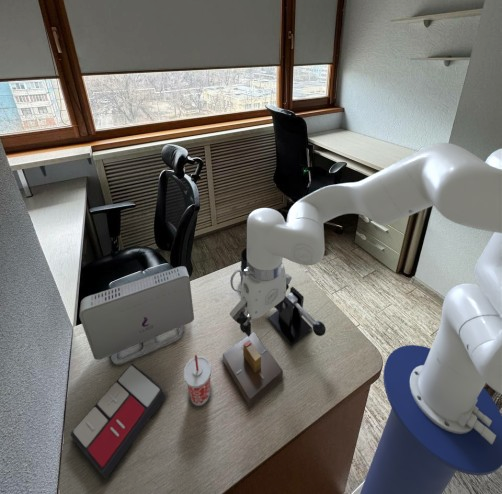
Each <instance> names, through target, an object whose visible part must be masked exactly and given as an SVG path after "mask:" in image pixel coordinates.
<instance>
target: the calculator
mask: <svg viewBox="0 0 502 494" xmlns="http://www.w3.org/2000/svg"><path fill="white" fill-rule="evenodd" d="M165 399H166V395H165V392H164V389H163V388H162V387H161V386H160V385H159V384H158V383H156V382H155V381H154V380H153V379H152V378H151V377H149V376H148V375H147V374H146V373H144V371H142V370H141V369H140V368H138V366H136V365H135V364H134V363H130V365H129V366H128V367H127V368H126V369H125V370H124V371H123V373H121V375H120V376H119V377H118V378H117V379H116V380H115V382H114V383H113V384H112V385H111V386H110V387H109V388H108V390H107V391H105V393H104V394H103V395H102V397H101V398H100V399H99V400H98V401H97V402H96V404H94V406H93V407H91V409H90V410H89V412H87V414H86V415H85V416H84V418H82V419H81V420H80V421H79V423H78V424H77V425H76V426H75V428H74V429H73V430H72V431H71V432H70V437H71V438H72V441H74V443H75V444H76V445H77V446H78V448H79V449H80V450H81V452H83V454H84V455H85V456H86V458H87V459H88V460H89V461H90V463H91V464H92V465H93V466H94V467H95V469H96V470H97V471H98V472H99V473H100V475H101V476H102V477H103V478H104V479H108V478H109V476H110V475H111V473H113V471H114V469H115V468H116V466H117V465H118V464H119V462H120V461H121V459H122V458H123V456H124V455H125V453H126V452H127V451H128V449H129V448H130V446H131V445H132V444H133V442H134V441H135V440H136V439H137V437H138V435H139V434H140V432H141V431H142V430H143V428H144V427H145V425H146V424H147V423H148V421H149V419H151V418H152V417H153V416H154V415H155V413H156V412H157V410H159V408H160V406H161V405H162V403H163V402H164V400H165Z"/></svg>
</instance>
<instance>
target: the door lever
mask: <svg viewBox="0 0 502 494" xmlns="http://www.w3.org/2000/svg"><path fill="white" fill-rule="evenodd" d="M286 297H287V298H288V299H289V300H290V301H291V302H292V303H293V308H294V307H295V308H296V309H297V310H298V311H299V312H300V313H301V314H302V318H303V319H304V320H305V321H306V322H307V323H308V324H309V325H310V326H312V331H313V333H314V334H315V335H316V336H318V337H322V336H324V335H325V334H326V325H325V324H324V322H322V321H320V320H317V321H316V320H315V318H313V317H312V316H311V314H309V313H308V312H307V311H306V310H305V309H304V307H303V308H302V307H301V306H300V305H299V304H298V299H297V298H296V297H295V296H294V295H293V294H292V293H290V292H289V293H288V294H287V295H286Z"/></svg>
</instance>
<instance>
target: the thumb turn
mask: <svg viewBox="0 0 502 494" xmlns="http://www.w3.org/2000/svg"><path fill="white" fill-rule="evenodd" d="M243 355H244V357H245V358H246V360H247V361H248V363H249V364H250V366H251V368H252V369H253V371H254V372H255V373H256V372H257V371H258V370H259V369H261V356H260V354H259V353H258V351H257V350H256V349H255V347H254V346H253V344H252V343H251V342H250V340H248V341H246V342H245V343H244V344H243Z"/></svg>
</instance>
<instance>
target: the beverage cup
mask: <svg viewBox="0 0 502 494" xmlns="http://www.w3.org/2000/svg"><path fill="white" fill-rule="evenodd" d="M211 364H212V363H211V361H210V360H209V359H208V358H207V357H205V356H203V355H197V354H195V355H194V357H192V358H191V359H189V361H187V363H186V365H184V369H183V379H184V382H185V383H186V386H187V390H188V393H189V397H190V401H191V403H192V404H193V405H195V406H202V405H204V404H206V403H207V402H208V400H209V398H210V396H211V395H210V394H211V377H212V376H211V375H212V365H211Z"/></svg>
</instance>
